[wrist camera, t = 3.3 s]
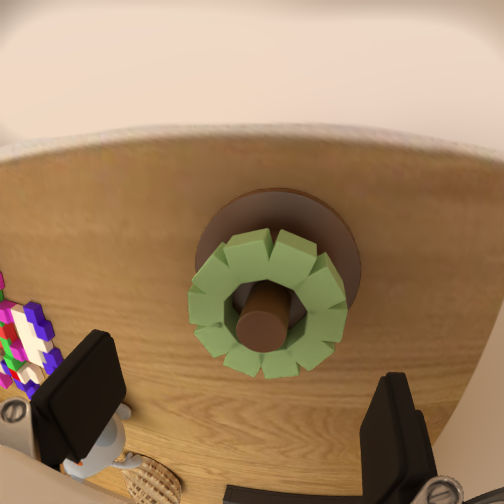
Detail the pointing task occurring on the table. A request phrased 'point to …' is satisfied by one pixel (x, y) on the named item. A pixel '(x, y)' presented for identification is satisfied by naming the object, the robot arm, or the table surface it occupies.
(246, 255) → the ring
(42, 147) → the table surface
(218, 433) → the table surface
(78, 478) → the toy figure
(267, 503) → the tray
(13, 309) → the building block set
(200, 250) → the stand
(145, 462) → the seashell
